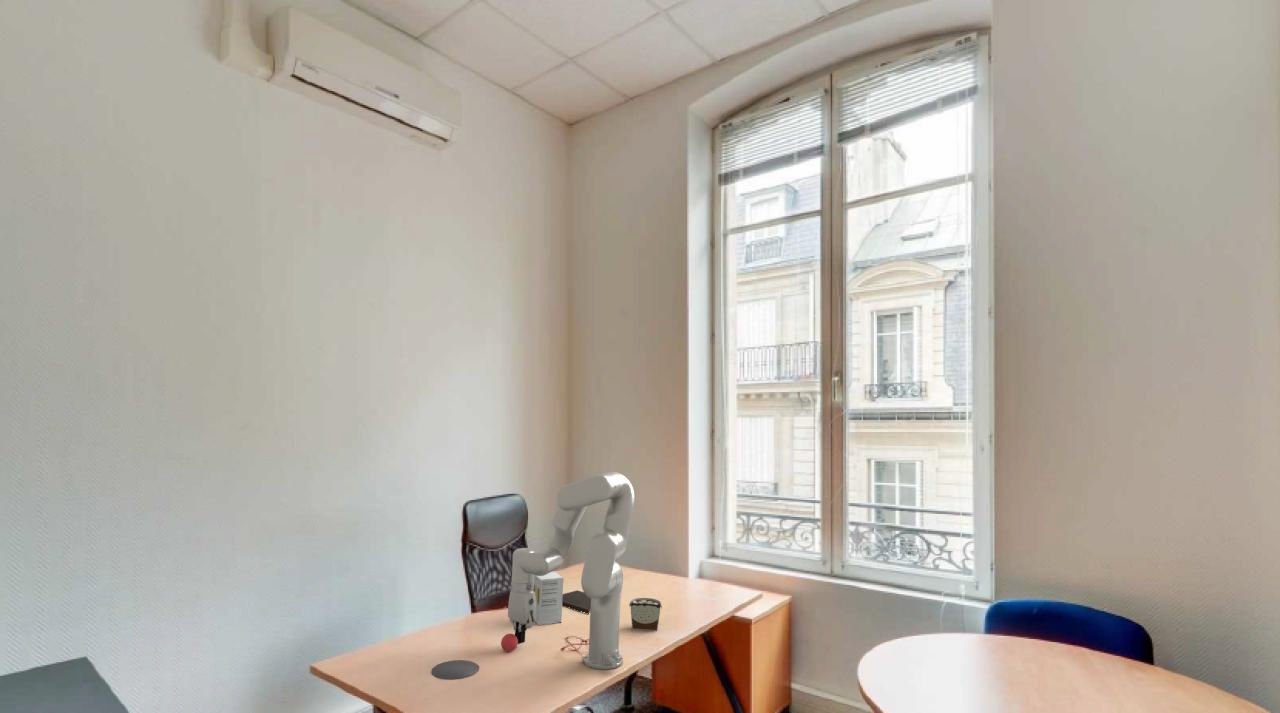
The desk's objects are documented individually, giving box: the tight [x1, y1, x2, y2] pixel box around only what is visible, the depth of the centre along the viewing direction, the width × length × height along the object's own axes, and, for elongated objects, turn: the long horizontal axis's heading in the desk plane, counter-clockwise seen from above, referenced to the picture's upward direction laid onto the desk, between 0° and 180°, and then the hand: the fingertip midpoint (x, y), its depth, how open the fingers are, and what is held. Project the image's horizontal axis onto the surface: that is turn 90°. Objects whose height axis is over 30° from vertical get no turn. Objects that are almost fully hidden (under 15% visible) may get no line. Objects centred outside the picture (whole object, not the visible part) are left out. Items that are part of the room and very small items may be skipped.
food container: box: [628, 597, 663, 632], centre depth 240 cm, size 12×6×10 cm, turn 84°
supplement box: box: [534, 571, 564, 626], centre depth 244 cm, size 10×9×17 cm
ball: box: [500, 633, 519, 653], centre depth 212 cm, size 6×6×6 cm
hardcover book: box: [562, 590, 591, 615], centre depth 266 cm, size 16×23×2 cm
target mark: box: [431, 659, 480, 680], centre depth 196 cm, size 14×14×1 cm
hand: (519, 642), depth 215 cm, fingers closed
